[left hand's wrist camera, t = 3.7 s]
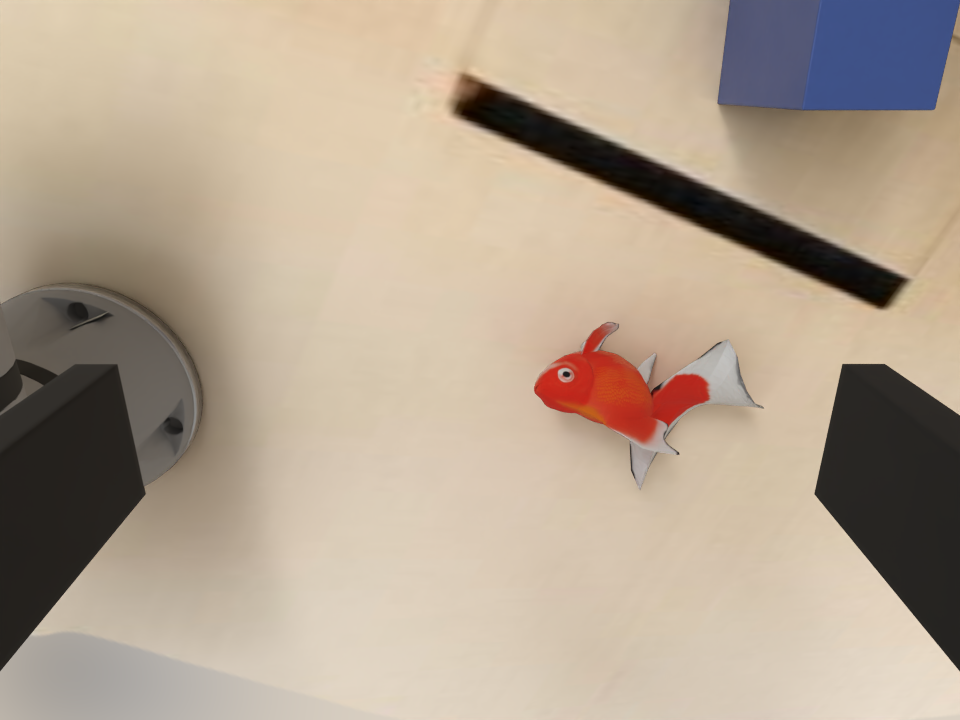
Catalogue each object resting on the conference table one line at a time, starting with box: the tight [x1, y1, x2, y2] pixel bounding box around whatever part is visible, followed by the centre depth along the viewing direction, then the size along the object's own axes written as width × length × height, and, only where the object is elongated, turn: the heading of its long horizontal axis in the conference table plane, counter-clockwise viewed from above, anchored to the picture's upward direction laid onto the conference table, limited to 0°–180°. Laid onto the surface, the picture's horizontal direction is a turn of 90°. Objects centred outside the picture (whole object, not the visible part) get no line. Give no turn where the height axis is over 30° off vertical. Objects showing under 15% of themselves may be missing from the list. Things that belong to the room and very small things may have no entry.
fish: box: [534, 322, 764, 490], centre depth 44 cm, size 11×16×10 cm
